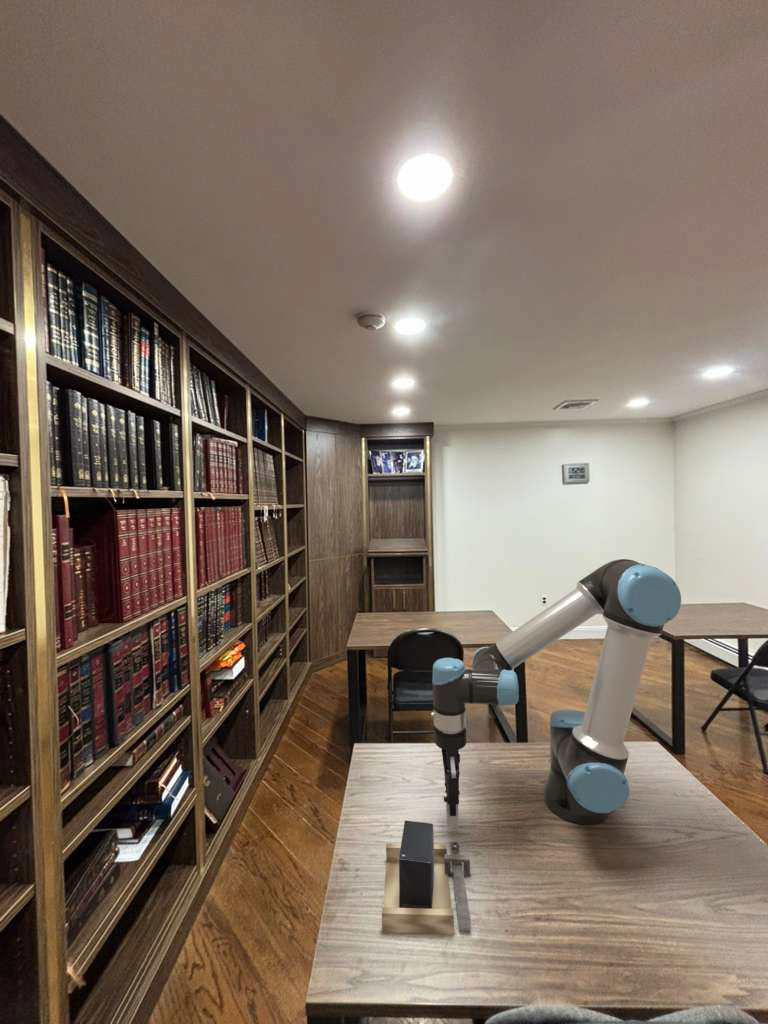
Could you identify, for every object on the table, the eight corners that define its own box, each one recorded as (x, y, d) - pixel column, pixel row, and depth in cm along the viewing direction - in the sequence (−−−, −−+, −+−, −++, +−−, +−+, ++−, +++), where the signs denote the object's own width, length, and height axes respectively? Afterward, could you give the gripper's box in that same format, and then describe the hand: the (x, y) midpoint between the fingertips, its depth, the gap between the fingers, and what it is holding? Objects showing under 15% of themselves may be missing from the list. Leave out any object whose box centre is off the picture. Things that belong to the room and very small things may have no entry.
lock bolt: (459, 853, 97) (458, 837, 97) (470, 932, 79) (470, 913, 79) (449, 852, 98) (449, 837, 97) (459, 931, 80) (459, 913, 80)
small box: (433, 918, 82) (432, 862, 82) (398, 913, 83) (397, 859, 83) (435, 871, 92) (434, 821, 92) (404, 867, 93) (403, 819, 93)
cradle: (467, 860, 95) (467, 844, 95) (479, 935, 79) (479, 915, 79) (386, 859, 96) (386, 842, 96) (382, 932, 80) (381, 912, 80)
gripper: (432, 713, 110) (434, 806, 111) (435, 741, 97) (438, 846, 98) (462, 713, 110) (464, 806, 110) (470, 741, 97) (472, 846, 97)
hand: (452, 824), depth 104 cm, fingers closed
